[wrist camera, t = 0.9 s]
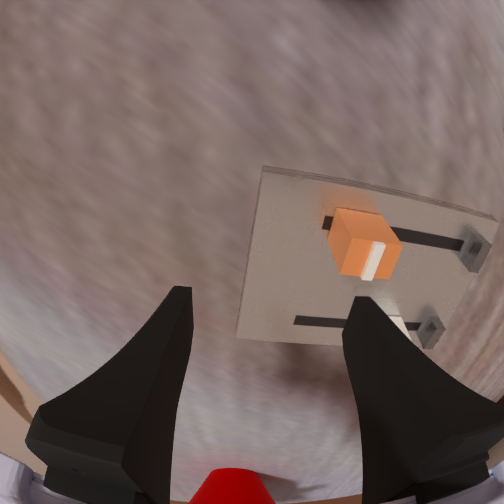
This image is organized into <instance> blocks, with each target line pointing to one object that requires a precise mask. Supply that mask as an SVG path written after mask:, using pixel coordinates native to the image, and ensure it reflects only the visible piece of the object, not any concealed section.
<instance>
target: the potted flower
mask: <svg viewBox="0 0 504 504" xmlns="http://www.w3.org/2000/svg"><path fill="white" fill-rule="evenodd" d="M188 504H276V503H275V502H274V500H273V499H272V497H271V496H270V494H269V493H268V491H267V489H266V488H265V486H264V485H263V483H262V481H261V480H260V478H259V477H258V475H257V474H256V473H255V472H253V471H250V470H246V469H237V468H223V469H217V470H213V471H212V472H211V473H210V474H209V476H208V477H207V478H206V480H205V481H204V483H203V484H202V485H201V487H200V488H199V490H198V491H197V492H196V494H195V495H194V496H193V498H192V499H191V500H190V502H189V503H188Z"/></svg>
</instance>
